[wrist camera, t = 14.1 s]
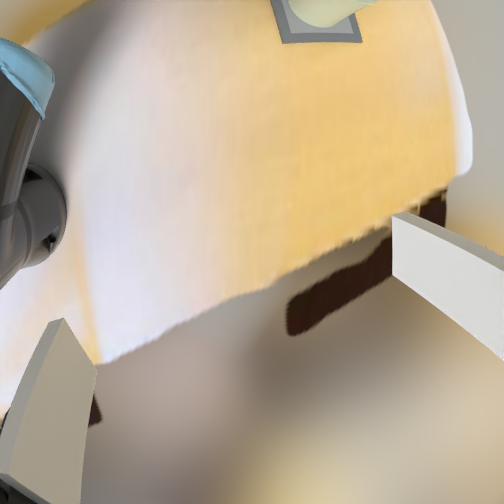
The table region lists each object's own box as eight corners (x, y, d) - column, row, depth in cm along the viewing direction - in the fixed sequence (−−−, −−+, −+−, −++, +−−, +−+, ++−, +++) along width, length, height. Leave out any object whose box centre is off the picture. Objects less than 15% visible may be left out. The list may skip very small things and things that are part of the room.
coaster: (282, 43, 34) (284, 42, 34) (261, -28, 29) (262, -30, 28) (360, 42, 36) (363, 42, 36) (339, -24, 30) (340, -25, 30)
